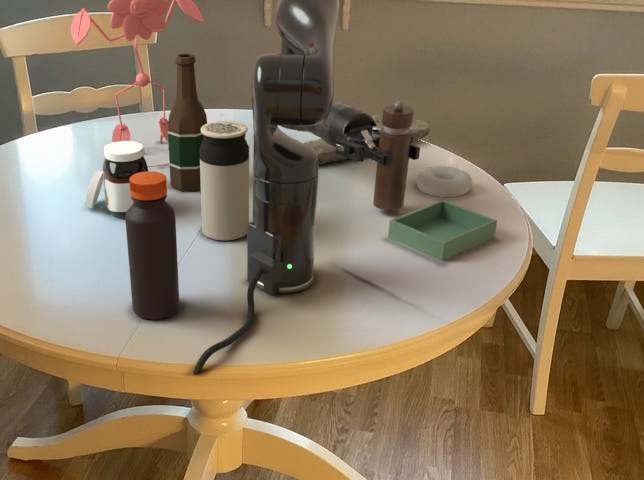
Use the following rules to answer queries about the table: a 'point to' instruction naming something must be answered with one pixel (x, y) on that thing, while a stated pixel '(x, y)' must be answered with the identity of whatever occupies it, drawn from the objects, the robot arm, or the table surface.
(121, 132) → the figurine
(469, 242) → the green shallow open box
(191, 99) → the beer bottle
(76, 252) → the table surface
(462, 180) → the donut
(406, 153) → the pepper mill
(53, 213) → the table surface
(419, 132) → the elongated rock
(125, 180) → the spread jar
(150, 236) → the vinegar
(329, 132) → the robot arm
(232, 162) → the travel mug
